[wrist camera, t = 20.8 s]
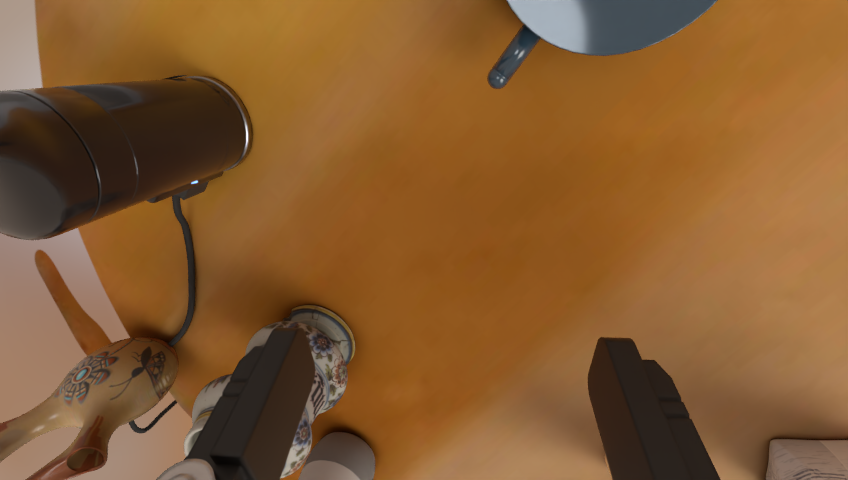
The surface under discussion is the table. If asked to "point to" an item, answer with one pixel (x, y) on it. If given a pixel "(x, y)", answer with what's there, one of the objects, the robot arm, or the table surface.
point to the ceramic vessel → (96, 403)
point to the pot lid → (607, 22)
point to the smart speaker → (339, 459)
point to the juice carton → (807, 460)
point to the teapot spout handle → (512, 58)
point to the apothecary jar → (330, 357)
